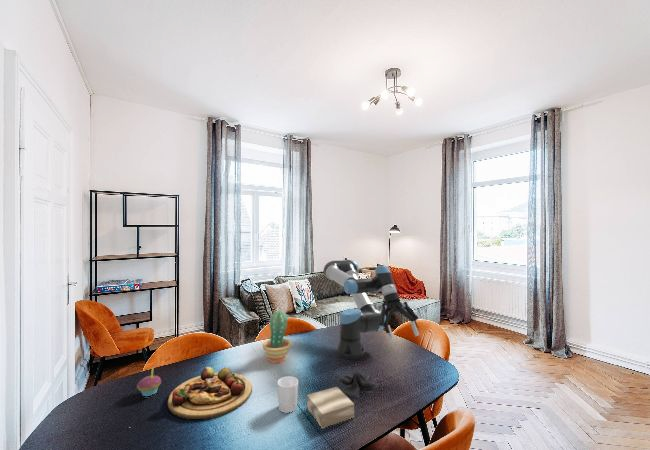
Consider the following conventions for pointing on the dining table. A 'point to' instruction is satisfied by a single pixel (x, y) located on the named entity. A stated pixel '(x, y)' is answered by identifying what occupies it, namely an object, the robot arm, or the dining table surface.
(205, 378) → the wooden plate with food
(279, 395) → the white cup
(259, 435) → the dining table surface
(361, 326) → the robot arm
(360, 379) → the cloth
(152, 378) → the cupcake
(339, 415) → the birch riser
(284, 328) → the potted cactus
